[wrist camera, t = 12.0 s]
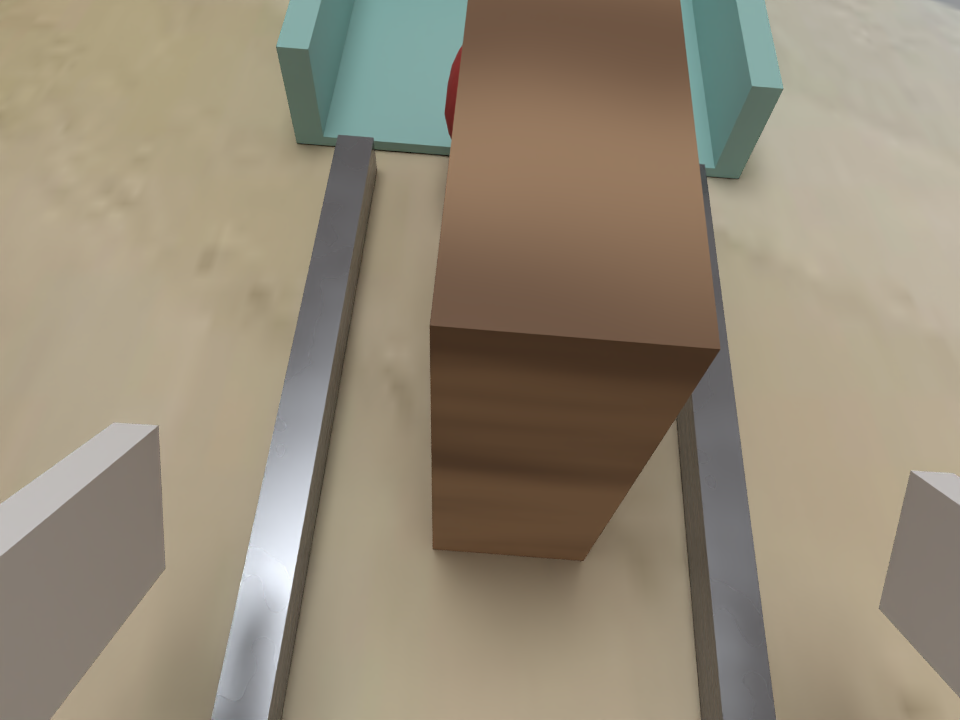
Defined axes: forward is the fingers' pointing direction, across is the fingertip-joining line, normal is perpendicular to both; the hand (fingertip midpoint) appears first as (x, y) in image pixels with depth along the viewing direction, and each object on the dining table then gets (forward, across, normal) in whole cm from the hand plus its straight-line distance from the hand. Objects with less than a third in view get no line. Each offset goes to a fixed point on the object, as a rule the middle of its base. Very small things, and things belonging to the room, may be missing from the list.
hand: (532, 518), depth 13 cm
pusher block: (+9, 0, 0) cm, 9 cm away
